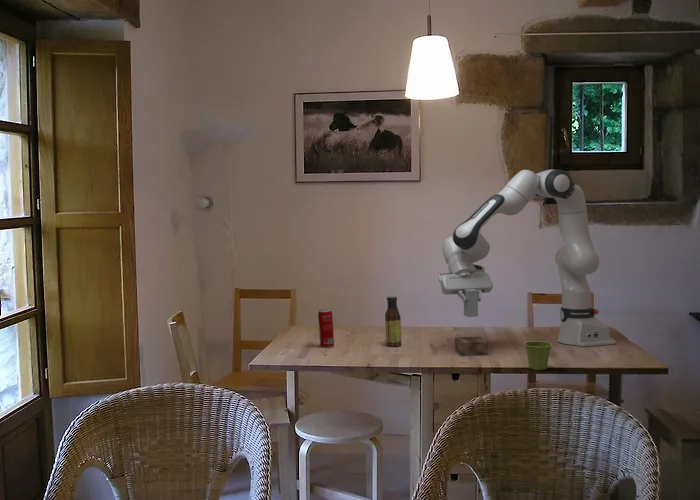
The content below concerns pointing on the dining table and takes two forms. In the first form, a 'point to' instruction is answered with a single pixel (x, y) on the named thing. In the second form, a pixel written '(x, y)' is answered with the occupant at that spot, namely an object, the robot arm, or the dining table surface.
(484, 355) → the grey mat
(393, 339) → the sauce bottle
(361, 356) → the dining table surface
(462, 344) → the walnut base block
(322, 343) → the beverage can
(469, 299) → the pillar block
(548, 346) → the plant pot
